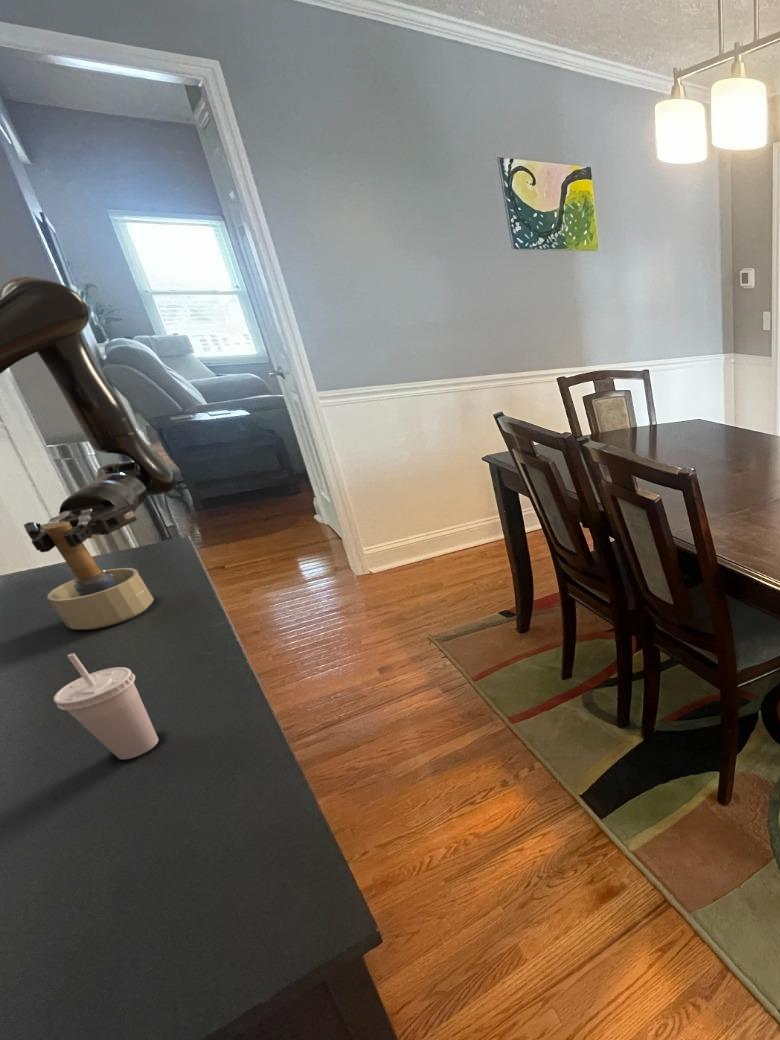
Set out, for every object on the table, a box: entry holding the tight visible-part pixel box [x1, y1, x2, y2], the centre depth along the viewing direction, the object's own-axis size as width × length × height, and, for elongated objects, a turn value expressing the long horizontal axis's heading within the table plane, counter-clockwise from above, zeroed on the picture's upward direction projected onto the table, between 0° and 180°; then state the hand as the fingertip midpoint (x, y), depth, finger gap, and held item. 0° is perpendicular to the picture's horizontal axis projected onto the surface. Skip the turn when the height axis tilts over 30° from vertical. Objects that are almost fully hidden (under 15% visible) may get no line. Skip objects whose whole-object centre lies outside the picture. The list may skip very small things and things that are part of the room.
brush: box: [44, 521, 118, 597], centre depth 95 cm, size 5×5×14 cm
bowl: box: [46, 567, 155, 631], centre depth 98 cm, size 11×11×6 cm
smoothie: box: [53, 652, 159, 760], centre depth 68 cm, size 6×6×14 cm
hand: (55, 543), depth 91 cm, fingers closed on brush, 3 cm apart
